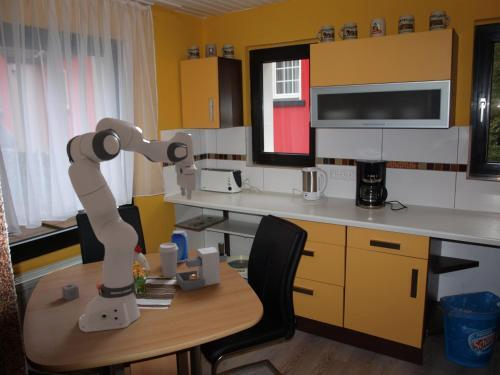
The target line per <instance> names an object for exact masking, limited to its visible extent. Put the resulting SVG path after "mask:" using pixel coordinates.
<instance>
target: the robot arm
mask: <svg viewBox="0 0 500 375" xmlns="http://www.w3.org/2000/svg"><path fill="white" fill-rule="evenodd" d="M194 144H195V143H194V138H193V135H192V134H190V133H188V132H181V131H180V132H176V133H175V135H174V136H173V137H172V138H171V139H169V140H157V139H150V140H147V139H144V133H143V131H142V129H141V128H140V127H138V126H137V125H135V124H133V123H130V122H129V121H125V120H122V119H118V118H114V117H103V118H102V119H100V120H99V121H98V122H97V124H96V126H95V130H94V131H91V132H86V133H82V134H79V135H75V136H73V137H71V139H69V140H68V142H67V144H66V150H65V151H66V155H67V157H68V162H69V163H70V165H69V167H68V170H67V172H68V177H69V180H70V182H71V186H72V188H73V190H74V192H75V194H76V196H77V198H78V200H79V203H80V204H81V206H82V207H83V210H84V211H85V213H86V215H87V217H88V221H89V223H90V226H91V228H92V231H93V233H94V234H95V237H96V238H97V240H98V241H99V242H100V243H101V244H103V246H104V257H103V262H102V264H101V265H102V266H101V267H102V268H101V269H102V279H103V283H102V282H98V283H96V285H95V286H96V289H97V290H98V294H97V295H96V296H94V298H92V299H91V300H89V302H88V303H87V304H86V305H85V308H84V313H83V314H81V315H80V317H79V319H78V327H79V330H80V331H81V332H84V333H91V332H100V331H107V330H115V329H125V328H127V327H128V326H130V324H132V323H133V322H135V321H137V320H138V319H139V318H140V316H141V312H140V309H139V306H138V303H137V298H136V293H137V290H136V288H137V287H136V280H135V279H134V277H133V255H134V248H135V247H136V248H137V246H138V242H139V235H138V233H137V232H136V230H135V228H134V227H133V226H132V225H131V224H129V223H128V222H125V220H123V218H122V217H121V215H120V213H119V210H118V207H117V201H116V197H115V195H114V194H113V192H112V190H111V189H110V186H109V184H108V182H107V181H106V178H105V176H104V175H103V173H102V170H101V163H104V162H108V161H111V160H114V159H115V158H117V157H118V156H119V155H120V152H121V150H122V151H125V152H135V153H138V154H140V155H142V156H144V157H145V158H146V159H147V160H149V162H152V163H166V164H174V168H175V169H174V171H175V172H174V173H176V185H177V186H179V188H180V195H181V196H182V197H185V196H186V200H192V194H193V191H196V187H197V176H196V174H197V173H198V170H197V167H196V165H195V157H194V153H195V148H194V147H195V145H194Z"/></svg>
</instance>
